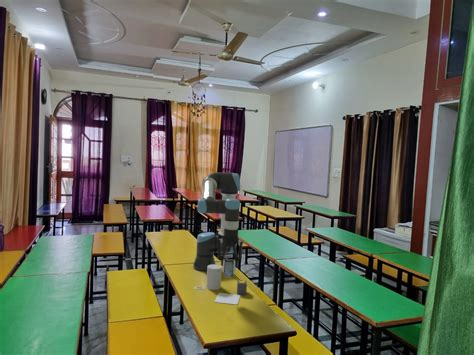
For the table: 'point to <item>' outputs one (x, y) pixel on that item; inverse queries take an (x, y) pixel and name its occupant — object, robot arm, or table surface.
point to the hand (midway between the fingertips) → (228, 272)
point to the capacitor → (229, 268)
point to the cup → (214, 277)
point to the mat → (227, 298)
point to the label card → (199, 288)
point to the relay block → (241, 287)
